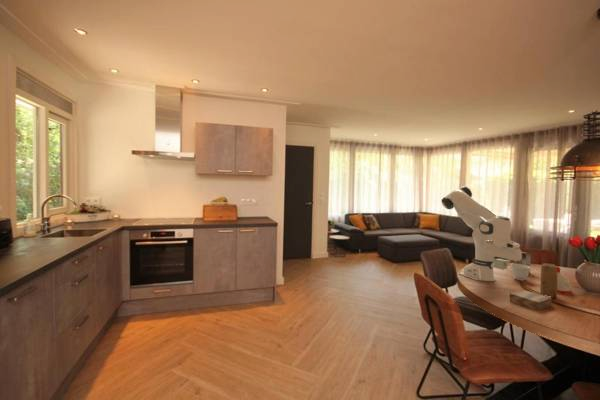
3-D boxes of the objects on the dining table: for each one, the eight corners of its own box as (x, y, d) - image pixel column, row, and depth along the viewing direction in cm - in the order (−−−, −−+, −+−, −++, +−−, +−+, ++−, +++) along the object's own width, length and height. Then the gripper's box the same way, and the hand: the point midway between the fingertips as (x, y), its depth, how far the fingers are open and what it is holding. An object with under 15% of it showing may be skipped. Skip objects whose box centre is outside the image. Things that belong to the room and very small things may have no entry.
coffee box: (512, 270, 223) (513, 251, 223) (518, 269, 225) (519, 250, 224) (524, 273, 214) (525, 253, 214) (530, 273, 216) (531, 253, 216)
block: (557, 299, 164) (558, 267, 163) (540, 296, 169) (541, 265, 168) (555, 294, 173) (556, 263, 172) (539, 291, 177) (540, 261, 176)
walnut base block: (509, 301, 163) (510, 293, 162) (522, 297, 169) (523, 289, 168) (538, 311, 150) (538, 302, 150) (551, 306, 156) (551, 298, 156)
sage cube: (493, 267, 170) (494, 259, 170) (498, 266, 172) (498, 258, 172) (502, 269, 166) (503, 261, 165) (507, 268, 168) (507, 260, 168)
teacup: (520, 275, 210) (520, 262, 210) (534, 282, 195) (535, 268, 195) (503, 275, 211) (503, 262, 211) (516, 281, 196) (517, 268, 196)
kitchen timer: (574, 291, 178) (575, 268, 178) (566, 295, 172) (567, 271, 171) (547, 284, 190) (547, 263, 190) (538, 288, 184) (539, 266, 183)
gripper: (480, 240, 176) (480, 261, 177) (518, 246, 158) (517, 269, 159) (486, 239, 179) (485, 259, 180) (523, 245, 161) (522, 268, 162)
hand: (500, 264), depth 169 cm, fingers closed on sage cube, 5 cm apart
